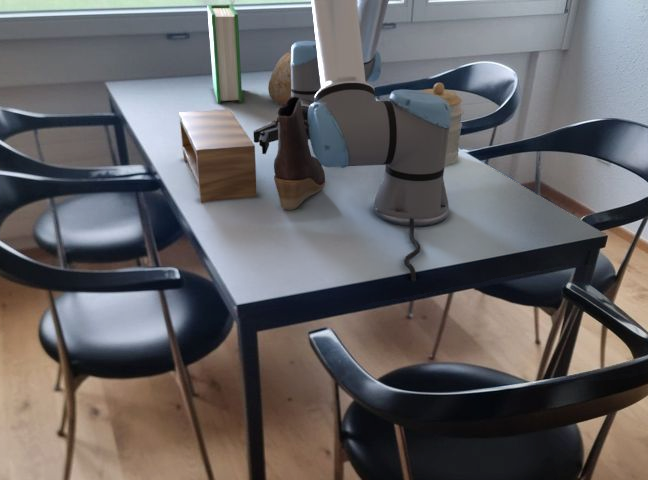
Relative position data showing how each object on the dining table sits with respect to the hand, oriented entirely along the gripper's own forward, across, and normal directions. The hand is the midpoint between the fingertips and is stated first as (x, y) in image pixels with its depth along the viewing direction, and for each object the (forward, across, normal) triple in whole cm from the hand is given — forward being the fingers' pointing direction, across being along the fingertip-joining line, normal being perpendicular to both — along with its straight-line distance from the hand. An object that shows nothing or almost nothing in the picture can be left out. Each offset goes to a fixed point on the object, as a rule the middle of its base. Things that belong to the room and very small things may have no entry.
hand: (294, 149), depth 150 cm
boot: (+5, -2, -8) cm, 10 cm away
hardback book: (-74, +28, -8) cm, 79 cm away
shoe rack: (-3, +18, -8) cm, 20 cm away
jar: (-21, -32, -8) cm, 39 cm away
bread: (-71, +1, -8) cm, 71 cm away
